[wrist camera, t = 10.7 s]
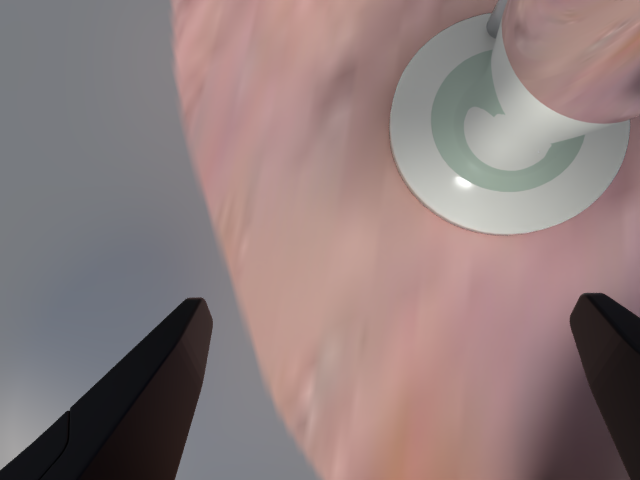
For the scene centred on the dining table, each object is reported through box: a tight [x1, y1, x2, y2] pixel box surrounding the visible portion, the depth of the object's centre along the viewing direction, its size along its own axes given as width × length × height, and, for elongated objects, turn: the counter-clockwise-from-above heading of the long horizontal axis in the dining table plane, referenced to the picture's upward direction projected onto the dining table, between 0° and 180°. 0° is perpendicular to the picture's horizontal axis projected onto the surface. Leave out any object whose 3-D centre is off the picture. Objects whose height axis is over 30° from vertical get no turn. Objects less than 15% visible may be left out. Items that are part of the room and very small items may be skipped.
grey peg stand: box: [389, 0, 630, 236], centre depth 21 cm, size 13×13×5 cm
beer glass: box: [453, 0, 640, 177], centre depth 14 cm, size 7×7×15 cm
